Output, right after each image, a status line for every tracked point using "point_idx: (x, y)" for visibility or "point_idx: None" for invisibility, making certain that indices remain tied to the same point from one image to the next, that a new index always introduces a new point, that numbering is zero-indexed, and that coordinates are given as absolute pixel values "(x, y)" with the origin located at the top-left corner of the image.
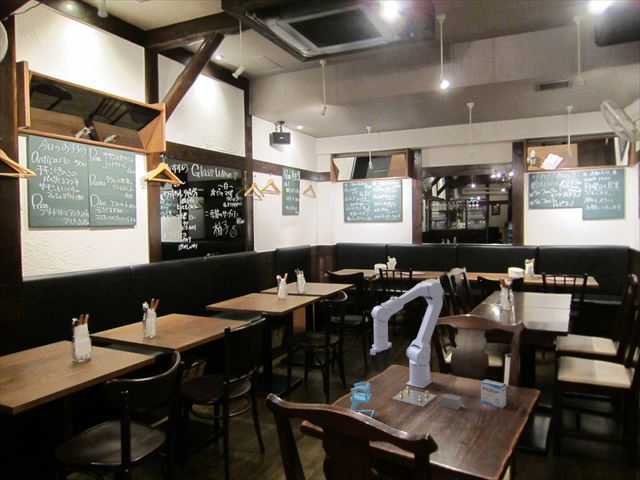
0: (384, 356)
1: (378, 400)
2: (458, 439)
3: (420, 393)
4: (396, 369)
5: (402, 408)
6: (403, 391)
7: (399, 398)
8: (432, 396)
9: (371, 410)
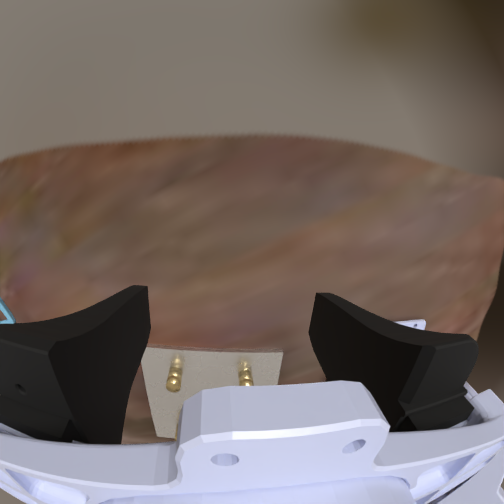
0: (353, 354)
1: (89, 298)
2: None
3: None
4: (493, 200)
5: None
6: (241, 358)
7: (152, 371)
8: None
9: (7, 316)
